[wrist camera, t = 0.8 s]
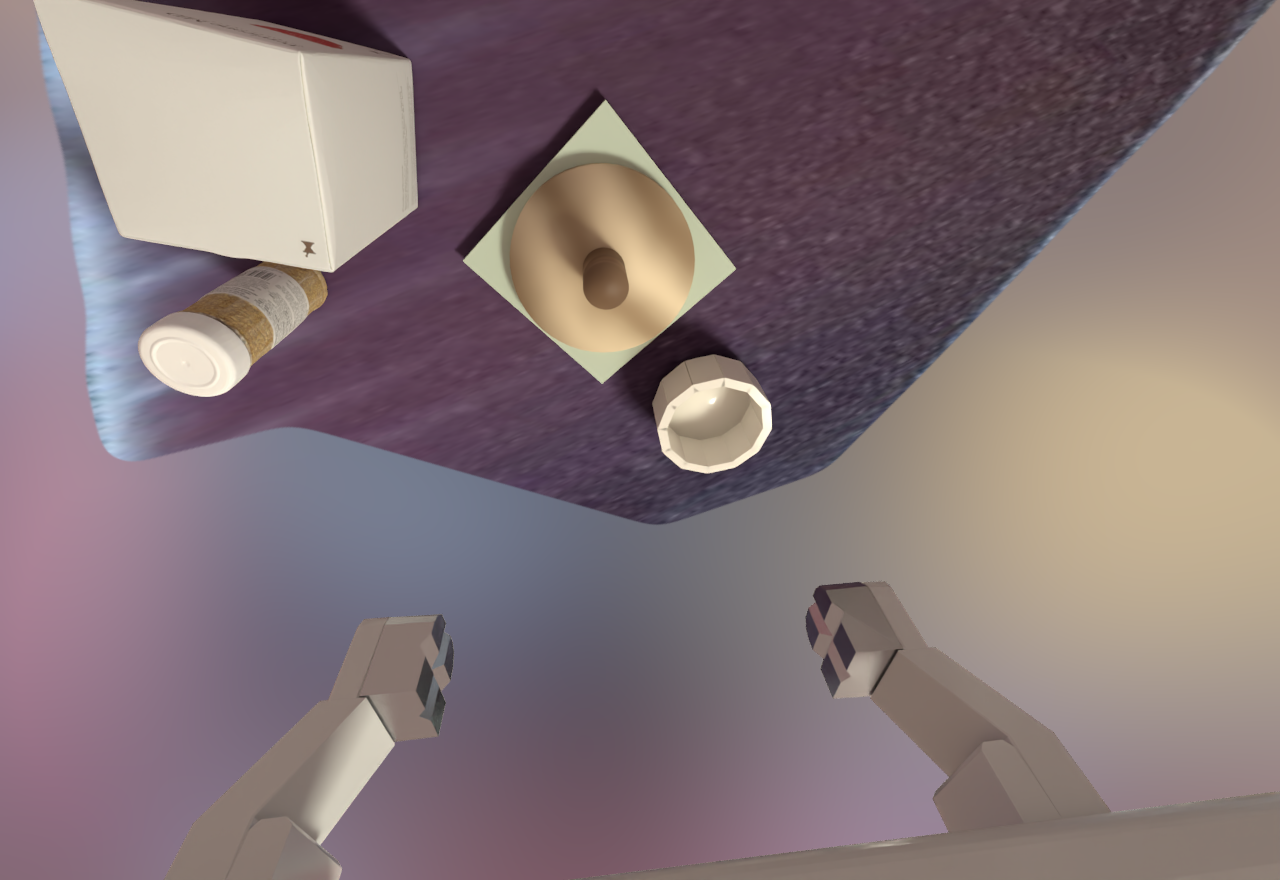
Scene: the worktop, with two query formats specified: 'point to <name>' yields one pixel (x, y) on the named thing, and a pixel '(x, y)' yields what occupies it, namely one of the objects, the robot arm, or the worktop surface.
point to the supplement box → (237, 130)
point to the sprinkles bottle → (230, 328)
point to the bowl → (711, 414)
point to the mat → (590, 144)
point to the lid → (602, 257)
